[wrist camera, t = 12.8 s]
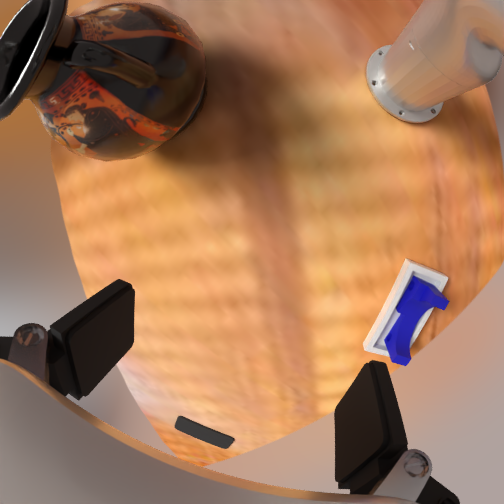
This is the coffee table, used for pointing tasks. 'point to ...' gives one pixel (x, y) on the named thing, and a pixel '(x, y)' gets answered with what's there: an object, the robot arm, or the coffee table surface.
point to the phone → (203, 432)
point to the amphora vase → (104, 75)
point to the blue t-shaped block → (411, 317)
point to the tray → (389, 312)
